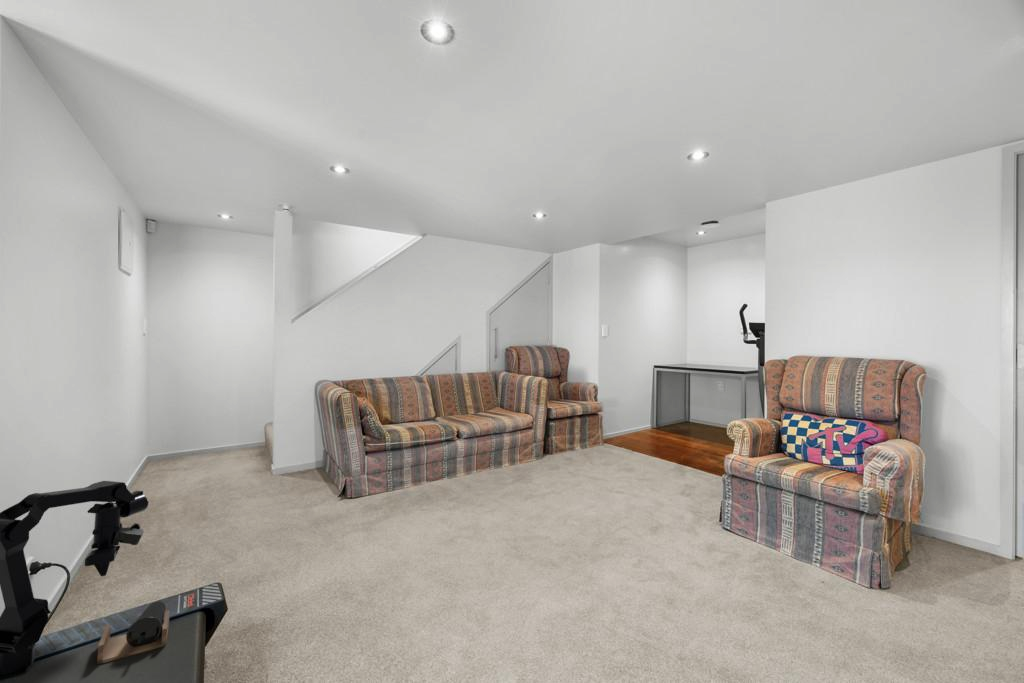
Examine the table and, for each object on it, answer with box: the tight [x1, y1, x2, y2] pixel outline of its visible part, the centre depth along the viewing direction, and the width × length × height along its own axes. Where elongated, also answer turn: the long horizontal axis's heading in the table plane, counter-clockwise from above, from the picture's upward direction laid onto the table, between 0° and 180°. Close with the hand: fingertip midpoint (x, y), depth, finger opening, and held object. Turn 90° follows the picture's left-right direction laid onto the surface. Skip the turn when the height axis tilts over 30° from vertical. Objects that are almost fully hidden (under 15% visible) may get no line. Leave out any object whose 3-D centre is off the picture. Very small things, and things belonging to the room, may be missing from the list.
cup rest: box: [96, 609, 171, 665], centre depth 120 cm, size 14×10×5 cm
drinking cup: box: [126, 601, 167, 647], centre depth 122 cm, size 8×8×20 cm
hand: (103, 575), depth 130 cm, fingers closed
